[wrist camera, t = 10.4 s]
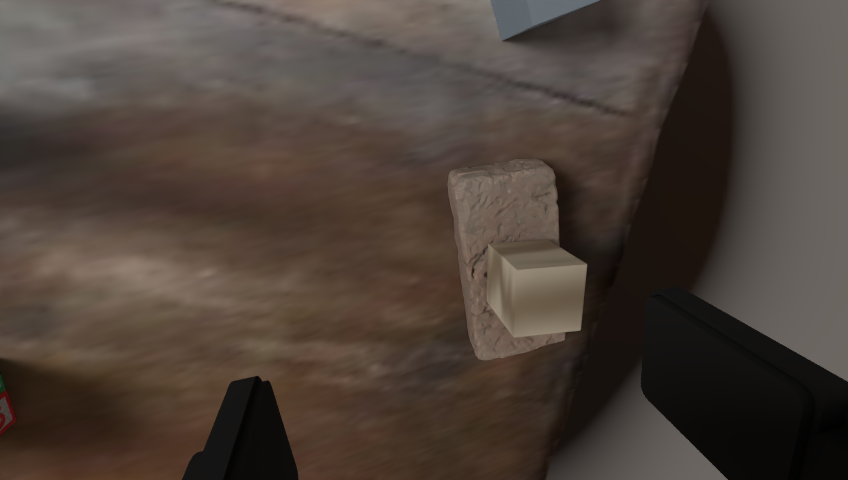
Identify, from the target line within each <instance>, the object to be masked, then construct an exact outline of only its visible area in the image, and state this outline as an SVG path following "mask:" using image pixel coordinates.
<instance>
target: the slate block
mask: <svg viewBox="0 0 848 480" xmlns="http://www.w3.org/2000/svg"><path fill="white" fill-rule="evenodd" d="M598 1H600V0H491V4H492V7H493V11H494V15H495V18H496V22H497V26H498V29H499V33H500V37H501V40H502V41H503V40H506V39H508V38H511V37H513V36H516V35H518V34H521V33H524V32H526V31H529V30H531V29H534V28H536V27H539V26H542V25H544V24H547V23H549V22H552V21H554V20H557V19H560V18H562V17H564V16H566V15H569V14H571V13H573V12H575V11H577V10H580V9H582V8H584V7H586V6H589V5H591V4H593V3H595V2H598Z"/></svg>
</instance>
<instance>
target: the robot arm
mask: <svg viewBox="0 0 848 480" xmlns="http://www.w3.org/2000/svg"><path fill="white" fill-rule="evenodd" d="M641 388H642V391H643V394H644V395H645V397H646V398H647V399H648V401H649V402H651V403H652V404H653V405H654V406H655V407H656V408H657V409H658V410H659V411H660V412H661V413H662V414H663V415H664V416H665V417H666V418H667V419H668V420H669V421H670V422H671V423H672V424H673V425H674V426H675V427H676V428H677V429H678V430H679V431H680V432H681V433H682V434H683V435H684V436H685V437H686V438H687V439H688V440H689V441H690V442H691V443H692V444H693V445H694V446H695V447H696V448H697V449H698V450H699V451H700V452H701V453H702V454H703V455H704V456H705V457H706V458H707V459H708V460H709V461H710V462H711V463H712V464H713V465H714V466H715V467H716V468H717V469H718V470H719V471H720V472H721V473H722V474H723V475H724V476H725V477H726V478H727V479H728V480H848V382H847V381H845V380H844V379H842V378H840V377H838V376H837V375H835V374H833V373H831V372H829V371H828V370H826V369H824V368H822V367H821V366H819V365H817V364H815V363H814V362H812V361H810V360H808V359H806V358H805V357H803V356H801V355H799V354H797V353H796V352H794V351H792V350H790V349H789V348H787V347H785V346H783V345H782V344H780V343H778V342H776V341H775V340H773V339H771V338H769V337H768V336H766V335H764V334H762V333H760V332H759V331H757V330H755V329H753V328H751V327H750V326H748V325H746V324H745V323H743V322H740V321H739V320H737V319H736V318H734V317H732V316H730V315H729V314H727V313H725V312H723V311H722V310H720V309H718V308H716V307H714V306H713V305H711V304H709V303H707V302H705V301H704V300H702V299H700V298H698V297H697V296H695V295H693V294H691V293H690V292H688V291H686V290H684V289H683V288H680V287H677V286H675V287H670V288H665V289H660V290H656V291H654V292H652V294H651V296H650V298H648V299H647V301H646V306H645V323H644V341H643V356H642V373H641ZM182 480H298V471H297V467H296V464H295V461H294V457H293V454H292V451H291V448H290V444H289V441H288V438H287V435H286V431H285V428H284V425H283V422H282V418H281V415H280V412H279V409H278V406H277V402H276V399H275V396H274V393H273V389H272V386H271V384H270V382H269V381H268V380H267V381H263V382H262V380H261V379H260V377H259V376H255V377H250V378H246V379H241V380H236V381H233V382H231V383H230V385H229V387H228V390H227V392H226V395H225V397H224V400H223V402H222V405H221V407H220V410H219V412H218V415H217V417H216V420H215V423H214V425H213V428H212V430H211V433H210V435H209V438H208V440H207V443H206V445H205V448H204V450H203V451H202V452H198V453H196V454H195V455H194V456H193V457H192V459H191V460H190V462H189V464H188V467H187V469H186V471H185V474H184V476H183V479H182Z"/></svg>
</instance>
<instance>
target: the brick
mask: <svg viewBox="0 0 848 480" xmlns="http://www.w3.org/2000/svg"><path fill="white" fill-rule="evenodd" d="M555 179H556V177H555V174H554V172H553V169H552V168H550V167H549V166H548V165H547V164H545V163H544V162H543V161H541V160H540V159H536V158H531V159H515V160H513V161H510V162H502V163H495V165H483V166H477V167H472V168H469V167H464V168H459V169H454V170H452V171H450V173H449V179H448V194H449V200H450V205H451V210H452V214H453V217H454V227H455V241H456V244H457V247H458V261H459V266H460V276H461V283H462V291H463V295H464V303H465V311H466V318H467V323H468V326H467V328H468V333H469V338H470V341H471V344H472V346H473V348H474V351H475V354H476V356H477V357H478V359H480V360H490V359H494V358H498V357H500V358H504V357H507V356H511V355H515V354H520V353H525V352H528V351H532V350H534V349H536V348H539V347H541V346H545V345H548V344H552V343H556V342H561V341H563V340H564V339H565V332H561V333H552V334H543V335H534V336H524V337H515V338H514V337H513V336H512V335H511V333H510V332H509V331H508V329H507V328H506V327H505V325H504V324H503V323H502V321H501V320H500V319H499V317H498V316H497V315H496V313H495V312H494V311H493V309H492V308H491V307H490V305H489V304H488V302H487V272H488V244H490V243H505V242H519V241H533V240H549V241H551V242H552V243H554V244H555V245H557V246H559V247H560V245H559V212H558V205H557V199H558V195H557V189H556V185H555Z"/></svg>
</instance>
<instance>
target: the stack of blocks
mask: <svg viewBox="0 0 848 480" xmlns="http://www.w3.org/2000/svg"><path fill="white" fill-rule="evenodd" d="M15 421H16V417H15V414H14V411H13V408H12V405H11V402H10V399H9V396H8V393H7V391H6V389H5V387H4V383H3V380H2V377H1V374H0V436H1V434H2V433H4V432H5V431H6V430H7V429H8V428H9V427H10V426H11V425H12V424H14V423H15Z"/></svg>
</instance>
